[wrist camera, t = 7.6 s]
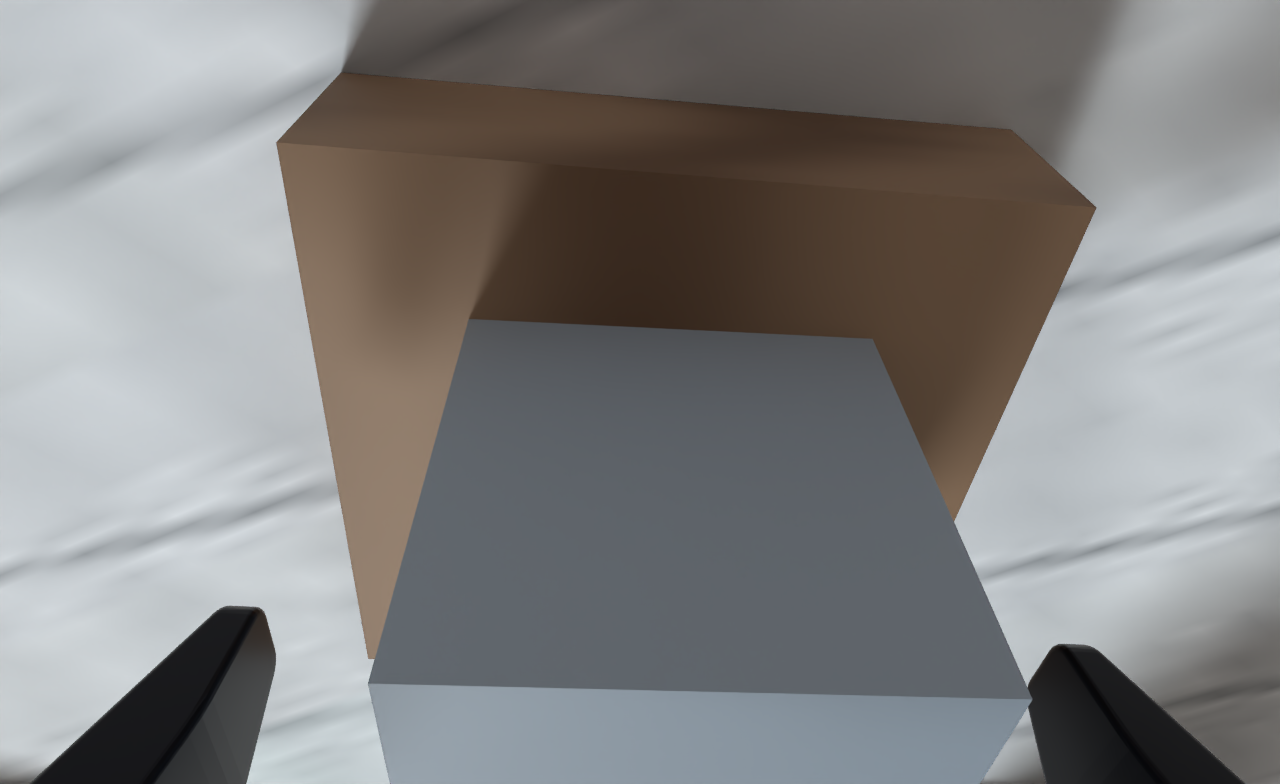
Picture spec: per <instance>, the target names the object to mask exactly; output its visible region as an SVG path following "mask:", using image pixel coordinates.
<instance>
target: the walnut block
mask: <svg viewBox="0 0 1280 784" xmlns="http://www.w3.org/2000/svg"><path fill="white" fill-rule="evenodd" d="M276 143H277V149H278V155H279V160H280V166H281V171H282V177H283V183H284V188H285V194H286V199H287V205H288V211H289V216H290V222H291V228H292V233H293V239H294V244H295V250H296V256H297V261H298V267H299V272H300V278H301V284H302V289H303V295H304V300H305V306H306V312H307V317H308V323H309V329H310V334H311V340H312V345H313V351H314V357H315V362H316V368H317V373H318V379H319V385H320V390H321V396H322V402H323V407H324V413H325V418H326V424H327V430H328V435H329V441H330V446H331V452H332V458H333V463H334V469H335V474H336V480H337V486H338V491H339V497H340V503H341V508H342V514H343V519H344V525H345V531H346V536H347V542H348V547H349V553H350V559H351V564H352V570H353V576H354V581H355V587H356V592H357V598H358V604H359V609H360V615H361V620H362V626H363V632H364V637H365V643H366V649H367V654H368V659H375V657H376V653H377V649H378V646H379V642H380V639H381V635H382V631H383V628H384V624H385V620H386V617H387V613H388V610H389V606H390V602H391V599H392V595H393V591H394V588H395V584H396V581H397V577H398V573H399V570H400V566H401V563H402V559H403V555H404V552H405V548H406V544H407V541H408V537H409V534H410V530H411V526H412V523H413V519H414V515H415V512H416V508H417V505H418V501H419V497H420V494H421V490H422V486H423V483H424V479H425V476H426V472H427V468H428V465H429V461H430V457H431V454H432V450H433V447H434V443H435V439H436V436H437V432H438V428H439V425H440V421H441V418H442V414H443V410H444V407H445V403H446V399H447V396H448V392H449V389H450V385H451V381H452V378H453V374H454V370H455V367H456V363H457V360H458V356H459V352H460V349H461V345H462V342H463V338H464V334H465V331H466V327H467V323H468V320H469V319H479V320H499V321H520V322H540V323H560V324H581V325H601V326H621V327H642V328H662V329H682V330H703V331H723V332H743V333H764V334H784V335H804V336H824V337H844V338H864V339H873V341H874V343H875V345H876V348H877V350H878V352H879V354H880V357H881V359H882V361H883V363H884V366H885V368H886V370H887V372H888V375H889V377H890V379H891V381H892V384H893V386H894V388H895V390H896V393H897V395H898V397H899V399H900V402H901V404H902V406H903V408H904V411H905V413H906V415H907V418H908V420H909V422H910V424H911V427H912V429H913V431H914V433H915V436H916V438H917V440H918V442H919V445H920V447H921V449H922V451H923V454H924V456H925V458H926V460H927V463H928V465H929V467H930V469H931V472H932V474H933V476H934V478H935V481H936V483H937V485H938V487H939V490H940V492H941V494H942V496H943V499H944V501H945V503H946V505H947V508H948V510H949V512H950V514H951V517H952V519H953V521H954V520H955V518H956V516H957V514H958V512H959V509H960V507H961V505H962V503H963V501H964V498H965V496H966V494H967V492H968V489H969V487H970V485H971V483H972V481H973V478H974V476H975V474H976V472H977V470H978V467H979V465H980V463H981V461H982V459H983V456H984V454H985V452H986V450H987V448H988V445H989V443H990V441H991V439H992V437H993V434H994V432H995V430H996V428H997V426H998V423H999V421H1000V419H1001V417H1002V415H1003V412H1004V410H1005V408H1006V406H1007V404H1008V401H1009V399H1010V397H1011V395H1012V393H1013V390H1014V388H1015V386H1016V384H1017V382H1018V379H1019V377H1020V375H1021V373H1022V371H1023V368H1024V366H1025V364H1026V362H1027V359H1028V357H1029V355H1030V353H1031V351H1032V348H1033V346H1034V344H1035V342H1036V340H1037V337H1038V335H1039V333H1040V331H1041V329H1042V326H1043V324H1044V322H1045V320H1046V318H1047V315H1048V313H1049V311H1050V309H1051V307H1052V304H1053V302H1054V300H1055V298H1056V296H1057V293H1058V291H1059V289H1060V287H1061V285H1062V282H1063V280H1064V278H1065V276H1066V274H1067V271H1068V269H1069V267H1070V265H1071V263H1072V260H1073V258H1074V256H1075V254H1076V252H1077V249H1078V247H1079V245H1080V243H1081V241H1082V238H1083V236H1084V234H1085V232H1086V229H1087V227H1088V225H1089V223H1090V221H1091V218H1092V216H1093V214H1094V212H1095V210H1096V207H1095V206H1094V205H1093V204H1092V203H1091V202H1090V201H1089V200H1088V199H1087V198H1085V197H1084V196H1083V195H1082V194H1081V193H1080V192H1079V191H1078V190H1077V189H1076V188H1075V187H1073V186H1072V185H1071V184H1070V183H1069V182H1068V181H1067V180H1066V179H1065V178H1064V177H1062V176H1061V175H1060V174H1059V173H1058V172H1057V171H1056V170H1055V169H1054V168H1053V167H1052V166H1050V165H1049V164H1048V163H1047V162H1046V161H1045V160H1044V159H1043V158H1042V157H1041V156H1040V155H1038V154H1037V153H1036V152H1035V151H1034V150H1033V149H1032V148H1031V147H1030V146H1029V145H1027V144H1026V143H1025V142H1024V141H1023V140H1022V139H1021V138H1020V137H1019V136H1018V135H1017V134H1015V133H1014V132H1013V131H1012V130H1009V129H997V128H986V127H974V126H962V125H951V124H939V123H927V122H915V121H904V120H892V119H880V118H868V117H857V116H845V115H833V114H822V113H810V112H798V111H786V110H775V109H763V108H751V107H739V106H728V105H716V104H704V103H692V102H681V101H669V100H657V99H646V98H634V97H622V96H610V95H599V94H587V93H575V92H563V91H552V90H540V89H528V88H516V87H505V86H493V85H481V84H470V83H458V82H446V81H434V80H423V79H411V78H399V77H387V76H376V75H364V74H352V73H340V74H339V75H338V76H337V77H336V79H335V80H334V81H333V82H332V83H331V84H330V85H329V86H328V87H327V88H326V89H325V90H324V92H323V93H322V94H321V95H320V96H319V97H318V98H317V99H316V100H315V101H314V102H313V103H312V104H311V106H310V107H309V108H308V109H307V110H306V111H305V112H304V113H303V114H302V115H301V116H300V117H299V119H298V120H297V121H296V122H295V123H294V124H293V125H292V126H291V127H290V128H289V129H288V130H287V131H286V133H285V134H284V135H283V136H282V137H281V138H280V139H279V140H278V141H277V142H276Z"/></svg>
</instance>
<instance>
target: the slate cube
mask: <svg viewBox="0 0 1280 784" xmlns="http://www.w3.org/2000/svg"><path fill="white" fill-rule="evenodd" d="M368 686H369V690H370V695H371V699H372V704H373V708H374V713H375V717H376V722H377V727H378V731H379V736H380V740H381V745H382V749H383V754H384V759H385V763H386V768H387V772H388V777H389V781H390V784H980V783H981V781H982V780H983V778H984V776H985V775H986V773H987V772H988V770H989V768H990V767H991V765H992V764H993V762H994V760H995V759H996V757H997V756H998V754H999V752H1000V751H1001V749H1002V748H1003V746H1004V744H1005V743H1006V741H1007V740H1008V738H1009V736H1010V735H1011V733H1012V732H1013V730H1014V728H1015V727H1016V725H1017V724H1018V722H1019V720H1020V719H1021V717H1022V716H1023V714H1024V712H1025V711H1026V709H1027V708H1028V706H1029V704H1030V703H1031V701H1032V700H1033V699H1032V697H1031V695H1030V693H1029V690H1028V688H1027V686H1026V684H1025V681H1024V679H1023V677H1022V675H1021V672H1020V670H1019V668H1018V666H1017V663H1016V661H1015V659H1014V657H1013V654H1012V652H1011V650H1010V647H1009V645H1008V643H1007V641H1006V638H1005V636H1004V634H1003V632H1002V629H1001V627H1000V625H999V623H998V620H997V618H996V616H995V614H994V611H993V609H992V607H991V605H990V602H989V600H988V598H987V596H986V593H985V591H984V589H983V587H982V584H981V582H980V580H979V578H978V575H977V573H976V571H975V569H974V566H973V564H972V562H971V560H970V557H969V555H968V553H967V551H966V548H965V546H964V544H963V542H962V539H961V537H960V535H959V532H958V530H957V528H956V526H955V523H954V521H953V519H952V517H951V514H950V512H949V510H948V508H947V505H946V503H945V501H944V499H943V496H942V494H941V492H940V490H939V487H938V485H937V483H936V481H935V478H934V476H933V474H932V472H931V469H930V467H929V465H928V463H927V460H926V458H925V456H924V454H923V451H922V449H921V447H920V445H919V442H918V440H917V438H916V436H915V433H914V431H913V429H912V427H911V424H910V422H909V420H908V418H907V415H906V413H905V411H904V408H903V406H902V404H901V402H900V399H899V397H898V395H897V393H896V390H895V388H894V386H893V384H892V381H891V379H890V377H889V375H888V372H887V370H886V368H885V366H884V363H883V361H882V359H881V357H880V354H879V352H878V350H877V348H876V345H875V343H874V341H873V339H864V338H844V337H824V336H804V335H784V334H764V333H743V332H723V331H703V330H682V329H662V328H642V327H621V326H601V325H581V324H560V323H540V322H520V321H499V320H479V319H469V320H468V323H467V327H466V331H465V334H464V338H463V342H462V345H461V349H460V352H459V356H458V360H457V363H456V367H455V370H454V374H453V378H452V381H451V385H450V389H449V392H448V396H447V399H446V403H445V407H444V410H443V414H442V418H441V421H440V425H439V428H438V432H437V436H436V439H435V443H434V447H433V450H432V454H431V457H430V461H429V465H428V468H427V472H426V476H425V479H424V483H423V486H422V490H421V494H420V497H419V501H418V505H417V508H416V512H415V515H414V519H413V523H412V526H411V530H410V534H409V537H408V541H407V544H406V548H405V552H404V555H403V559H402V563H401V566H400V570H399V573H398V577H397V581H396V584H395V588H394V591H393V595H392V599H391V602H390V606H389V610H388V613H387V617H386V620H385V624H384V628H383V631H382V635H381V639H380V642H379V646H378V649H377V653H376V657H375V660H374V664H373V668H372V671H371V675H370V678H369V682H368Z"/></svg>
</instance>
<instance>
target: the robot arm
mask: <svg viewBox="0 0 1280 784" xmlns="http://www.w3.org/2000/svg"><path fill="white" fill-rule="evenodd" d="M275 665H276V653H275V648H274V644H273V641H272V637H271V633H270V630H269V626H268V622H267V619H266V615H265V613H264V611H263V610H262V609H260V608H259V607H247V606H225V607H223V608H220V609H219V610H217V611H216V612H215V613H214V614H212V615H211V616H210V617H209V618H208V619H207V620H206V621H205V622H204V623H203V624H202V625H201V626H199V627H198V628H197V629H196V630H195V631H194V632H193V633H192V634H191V635H190V636H189V637H188V638H187V639H185V640H184V641H183V642H182V643H181V644H180V645H179V646H178V647H177V648H176V649H175V650H174V651H172V652H171V653H170V654H169V655H168V656H167V657H166V658H165V659H164V660H163V661H162V662H161V663H159V664H158V665H157V666H156V667H155V668H154V669H153V670H152V671H151V672H150V673H149V674H148V675H147V676H145V677H144V678H143V679H142V680H141V681H140V682H139V683H138V684H137V685H136V686H135V687H134V688H132V689H131V690H130V691H129V692H128V693H127V694H126V695H125V696H124V697H123V698H122V699H121V700H120V701H118V702H117V703H116V704H115V705H114V706H113V707H112V708H111V709H110V710H109V711H108V712H107V713H105V714H104V715H103V716H102V717H101V718H100V719H99V720H98V721H97V722H96V723H95V724H94V725H93V726H91V727H90V728H89V729H88V730H87V731H86V732H85V733H84V734H83V735H82V736H81V737H80V738H78V739H77V740H76V741H75V742H74V743H73V744H72V745H71V746H70V747H69V748H68V749H67V750H66V751H64V752H63V753H62V754H61V755H60V756H59V757H58V758H57V759H56V760H55V761H54V762H53V763H51V764H50V765H49V766H48V767H47V768H46V769H45V770H44V771H43V772H42V773H41V774H40V775H39V776H37V777H36V778H35V779H34V780H33V781H32V782H31V783H30V784H246V783H247V779H248V775H249V771H250V767H251V763H252V759H253V755H254V751H255V747H256V743H257V739H258V735H259V732H260V728H261V724H262V720H263V716H264V712H265V708H266V704H267V700H268V696H269V692H270V688H271V684H272V680H273V676H274V672H275ZM1028 690H1029V693H1030V695H1031V697H1032V699H1033V700H1032V701H1031V703H1030V704H1029V706H1028V709H1029V713H1030V718H1031V722H1032V726H1033V730H1034V735H1035V739H1036V743H1037V748H1038V752H1039V756H1040V760H1041V765H1042V769H1043V773H1044V778H1045V782H1046V784H1245V783H1244V782H1243V781H1242V780H1240V779H1239V778H1238V777H1237V776H1236V775H1235V774H1234V773H1233V772H1232V771H1231V770H1229V769H1228V768H1227V767H1226V766H1225V765H1224V764H1223V763H1222V762H1221V761H1220V760H1218V759H1217V758H1216V757H1215V756H1214V755H1213V754H1212V753H1211V752H1210V751H1209V750H1207V749H1206V748H1205V747H1204V746H1203V745H1202V744H1201V743H1200V742H1199V741H1198V740H1196V739H1195V738H1194V737H1193V736H1192V735H1191V734H1190V733H1189V732H1188V731H1186V730H1185V729H1184V728H1183V727H1182V726H1181V725H1180V724H1179V723H1178V722H1177V721H1175V720H1174V719H1173V718H1172V717H1171V716H1170V715H1169V714H1168V713H1167V712H1166V711H1164V710H1163V709H1162V708H1161V707H1160V706H1159V705H1158V704H1157V703H1156V702H1155V701H1153V700H1152V699H1151V698H1150V697H1149V696H1148V695H1147V694H1146V693H1145V692H1144V691H1142V690H1141V689H1140V688H1139V687H1138V686H1137V685H1136V684H1135V683H1134V682H1132V681H1131V680H1130V679H1129V678H1128V677H1127V676H1126V675H1125V674H1124V673H1123V672H1121V671H1120V670H1119V669H1118V668H1117V667H1116V666H1115V665H1114V664H1113V663H1112V662H1110V661H1109V660H1108V659H1107V658H1106V657H1105V656H1104V655H1103V654H1102V653H1100V652H1099V651H1098V650H1096V649H1095V648H1093V647H1091V646H1087V645H1076V644H1058V645H1056V646H1054V647H1052V648H1051V650H1050V651H1049V652H1048V654H1047V655H1046V657H1045V659H1044V660H1043V662H1042V663H1041V665H1040V666H1039V668H1038V669H1037V671H1036V672H1035V674H1034V675H1033V677H1032V678H1031V680H1030V682H1029V684H1028Z"/></svg>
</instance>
